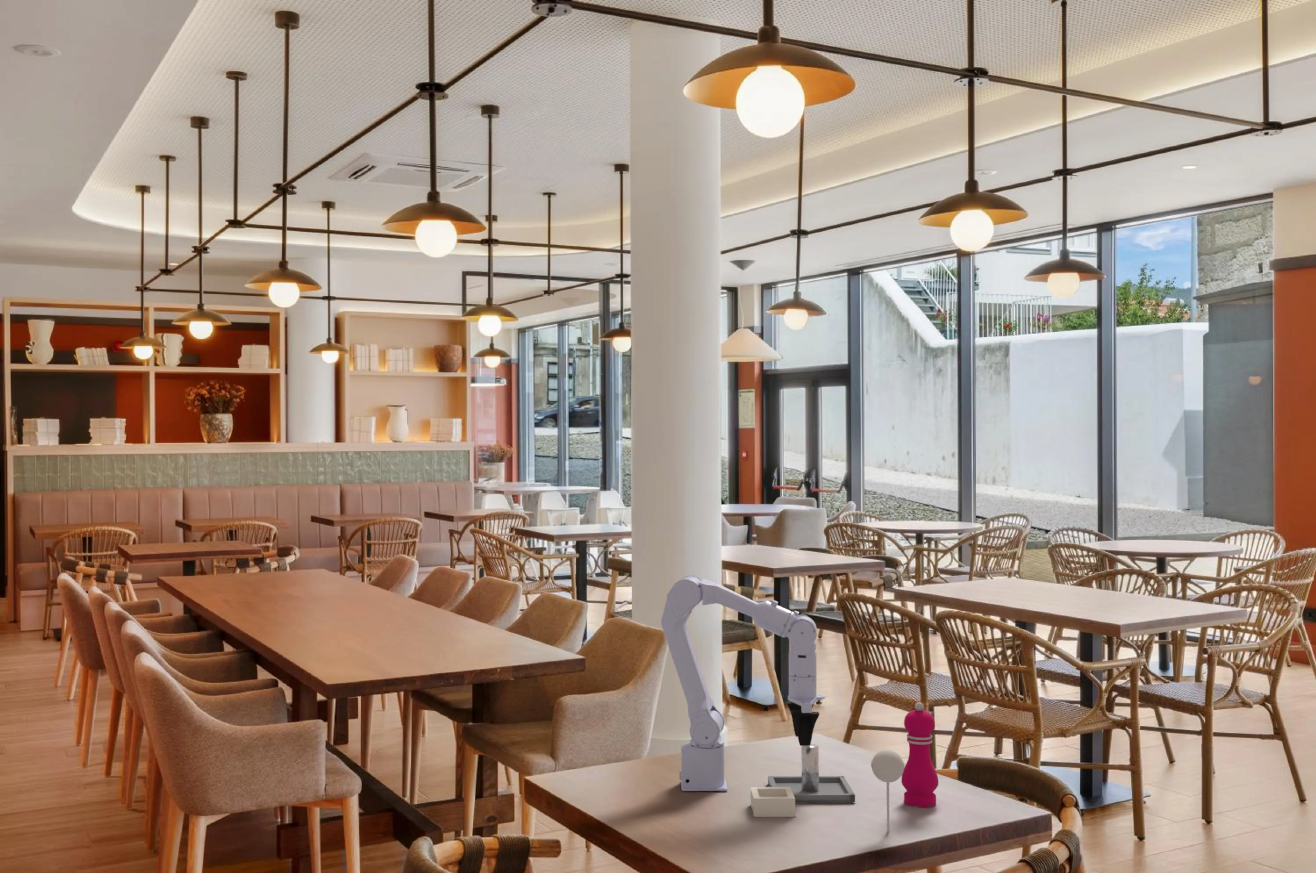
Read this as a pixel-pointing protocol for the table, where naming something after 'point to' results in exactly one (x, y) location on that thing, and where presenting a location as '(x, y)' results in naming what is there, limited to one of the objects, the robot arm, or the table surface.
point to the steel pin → (810, 768)
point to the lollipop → (887, 770)
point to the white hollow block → (772, 802)
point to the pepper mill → (919, 759)
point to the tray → (829, 789)
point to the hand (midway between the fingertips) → (802, 740)
